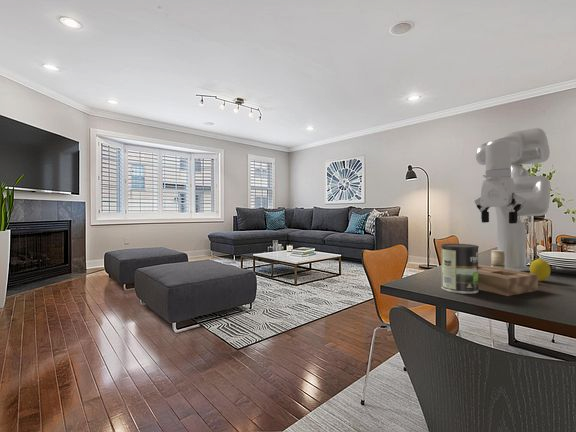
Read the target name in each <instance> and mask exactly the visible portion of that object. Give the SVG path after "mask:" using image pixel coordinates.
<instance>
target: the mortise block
mask: <svg viewBox="0 0 576 432" xmlns="http://www.w3.org/2000/svg"><path fill="white" fill-rule="evenodd" d="M538 282H539V281H538V274H532V273H530V272H527V271H514V270H508V269H502V268H496V267H491V265H490V266H489V265H483V264H478V290H480V291H485V292H490V293H493V294H498V295H502V296H506V297H509V296H510V297H511V296H515V295H521V294H526V293H533V292H537V291H538V289H539V288H538V287H539V286H538V285H539V284H538Z"/></svg>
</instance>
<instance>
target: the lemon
mask: <svg viewBox="0 0 576 432" xmlns="http://www.w3.org/2000/svg"><path fill="white" fill-rule="evenodd" d="M529 267H530V271H529V273H532V274H538V282H542V281H544V280H547V279H548V278H549V277H550V275H551V271H552V270H551V266H550V264H549V262H548V261H546V260H544V259H542V258H541V257H538V258H537V259H534V260H532V261H531V263H530V265H529Z"/></svg>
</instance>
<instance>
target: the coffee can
mask: <svg viewBox="0 0 576 432" xmlns="http://www.w3.org/2000/svg"><path fill="white" fill-rule="evenodd" d="M440 247H441V248H440V249H441V252H440V253H441V289H442V291H445V292H450V293H452V294H453V293H454V294H463V295H465V294H466V295H470V294H471V295H472V294H473V295H474V294H478V293H479V290H480V289H478V265H479V247H480V246H479V245H476V244H467V243H441V244H440Z"/></svg>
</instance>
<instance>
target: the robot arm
mask: <svg viewBox="0 0 576 432" xmlns="http://www.w3.org/2000/svg"><path fill="white" fill-rule="evenodd" d="M530 154H532V155H530ZM550 154H551V153H550V146H549V141H548V137H547V134H546V132H545V131H544V130H543V129H542V128H540V127H536V128H528V129H524V130H517V131H511V132H510V133H508V134H506V135H505V136H504V137H500V138H497V139H494V140H491V141H488V142H485V143H484V142H483V144H480V145H479V147H477V150H476V152H475V160H476V162H477V163H478V164H479V165H481V166H485V173H483V174H482V177H483V178H485V179H484V180H483V181H482V186H481V191H480V197H479V198H477V199H475V200H474V204H475V205H476V208H477V209H478V210H479V212H480V216H481V217H480V219H481V223H484V224H486V223H489V222H490V212H489V210H490V208H495V209H494V210H495V214H496V221H497V224H496V225H497V250H501V251H505V269H508V270H514V271H520V272H530V265H527V264H531V263H532V259H531V258H529V257H528V258H527V245H526V244H527V240H526V239H527V238H526V237H527V228H526V225H525V223H524V222H523V221H522V220H521V219H520V218H519V217H538V216H539V217H541V216H544V215H546V214H547V213H548V211H549V208H550V198H551V190H552V189H551V188H552V187H551V182H550V179H549V178H548V177H547V176H545V175H531V176H530V172H529V171H528V170H527V169H525V168H524V167H523V166H524V165H530V164H531V165H532V164H540V163H545V162H546V161H548V159H549V157H550ZM522 165H523V166H522Z"/></svg>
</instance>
